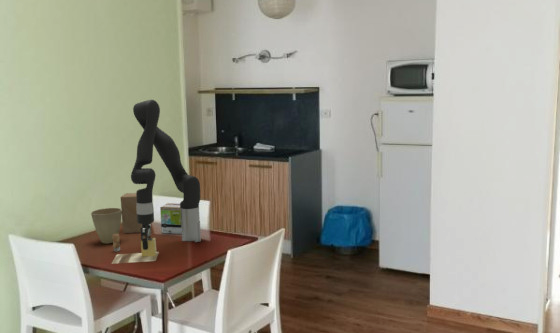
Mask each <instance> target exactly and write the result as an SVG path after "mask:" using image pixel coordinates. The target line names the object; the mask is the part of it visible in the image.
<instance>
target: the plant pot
mask: <svg viewBox="0 0 560 333" xmlns="http://www.w3.org/2000/svg"><path fill="white" fill-rule="evenodd" d="M90 215H91V219H92V223H93V226H94V228H95V231H96V233H97V236H98V238H99V240H100V242H101V243H102V244H113V234H119V233H120V229H121V225H122V209H121V208H120V207H106V208H100V209H95V210H93V211H91V212H90ZM119 235H120V234H119Z"/></svg>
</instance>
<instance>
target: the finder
mask: <svg viewBox="0 0 560 333" xmlns="http://www.w3.org/2000/svg"><path fill="white" fill-rule="evenodd" d="M140 249H141V252H140V253H142V256H155V255H156V252H157V239H156V237H150V238H148V249H147V250H143V242H142V241H141V240H140Z"/></svg>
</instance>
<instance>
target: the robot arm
mask: <svg viewBox="0 0 560 333" xmlns="http://www.w3.org/2000/svg"><path fill="white" fill-rule="evenodd" d="M160 107H161V106H160V105H159V103H158V102H157V101H156V100H154V99H147V100H144V101H143V100H142V101H141V102H137V103H135V104H134V106H133V108H132V110H133V111H132V112H133V115H134V117H135V119H136V121H137V122H138V124H139V125H140V127H141V128H142V129H143V132H142V134H141V136H140V138H139V140H138V142H137V143H138V144H137V146H136V159H135V163H134V166H133V167H132V171H131V174H130V180H131V181H132V183H133V184H135V185H146V186H145V187H144V188H141V189H140V188H139V189H137V190H136V192H135V193H136V199H137V206H136V210H137V223H139V224H142V227H141V233H140V242H141V241H142V242H143V250H147V249H148V238H151V236H152V224H153V223H154V222H155V215H154V214H155V211H154V208H155V207H154V202H153V189H154V184H155V180H156V171H155V170H154V169H153V168H152V167H151V168H150V167H148V168H147V167H146V168H145V167H144V166H147V165H150V164H152V162H153V156H154V155H153V152H154V148H155V150H156V151H157V154H158V155H159V157H160V158H161V161H162V162H163V164H164V165H165V166H166V168H167V170H168V171H169V174H170V176H171V178H172V179H173V182H174V184H175V187H176V189H177V191H179V192H180V193H182V194H183V199H182V200H181V201H180V202H179V204H180V212H181V229H182V234H181V241H182V242H194V243H200V242H201V241H202V240H201V239H202V236H201V235H202V234H201V233H202V232H201V221H200V220H201V219H200V201H201V183H200V180H199V179H198V177H196V176H194V175H189V173H188V172H187V171H186V169H185V168H184V165H183V164H182V160H181V154H180V149H179V148H178V146H177V145H176V142H175V141H174V140H173V138H172V136H170V135H168V133H166V132H165V131H164V130H162V129H161V128H159V126H158V122H159V119H160V113H161V108H160ZM143 167H144V168H143Z"/></svg>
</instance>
